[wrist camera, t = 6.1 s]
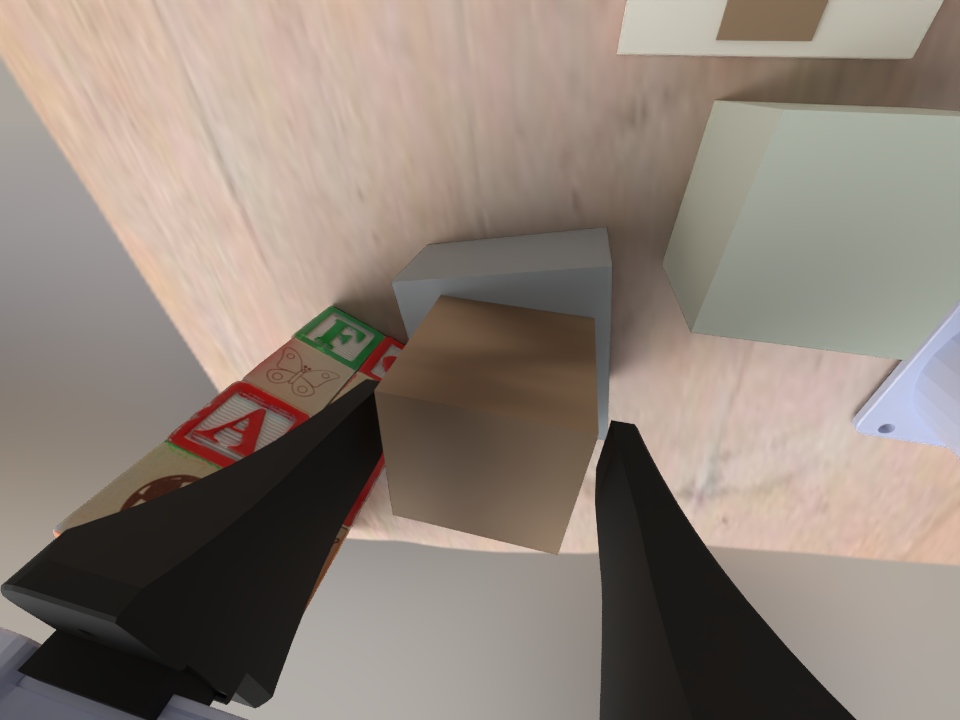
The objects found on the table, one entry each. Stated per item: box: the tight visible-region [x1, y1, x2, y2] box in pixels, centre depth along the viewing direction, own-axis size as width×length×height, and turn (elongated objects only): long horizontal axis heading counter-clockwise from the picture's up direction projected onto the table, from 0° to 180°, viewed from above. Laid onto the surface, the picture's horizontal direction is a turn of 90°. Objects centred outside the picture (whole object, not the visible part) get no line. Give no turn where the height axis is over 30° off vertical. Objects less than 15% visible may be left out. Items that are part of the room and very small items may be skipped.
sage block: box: [662, 100, 960, 361], centre depth 10 cm, size 5×5×5 cm
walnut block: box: [374, 295, 599, 555], centre depth 12 cm, size 5×5×5 cm
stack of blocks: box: [53, 306, 405, 614], centre depth 20 cm, size 21×6×12 cm, turn 153°
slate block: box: [391, 227, 612, 440], centre depth 15 cm, size 7×7×4 cm
